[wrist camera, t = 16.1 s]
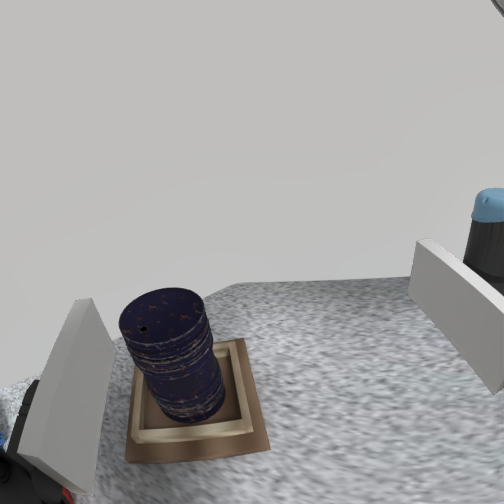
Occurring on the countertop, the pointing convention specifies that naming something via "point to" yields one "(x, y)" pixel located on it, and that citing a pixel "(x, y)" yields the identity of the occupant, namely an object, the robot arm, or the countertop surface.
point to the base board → (208, 431)
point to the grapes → (1, 439)
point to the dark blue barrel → (175, 353)
